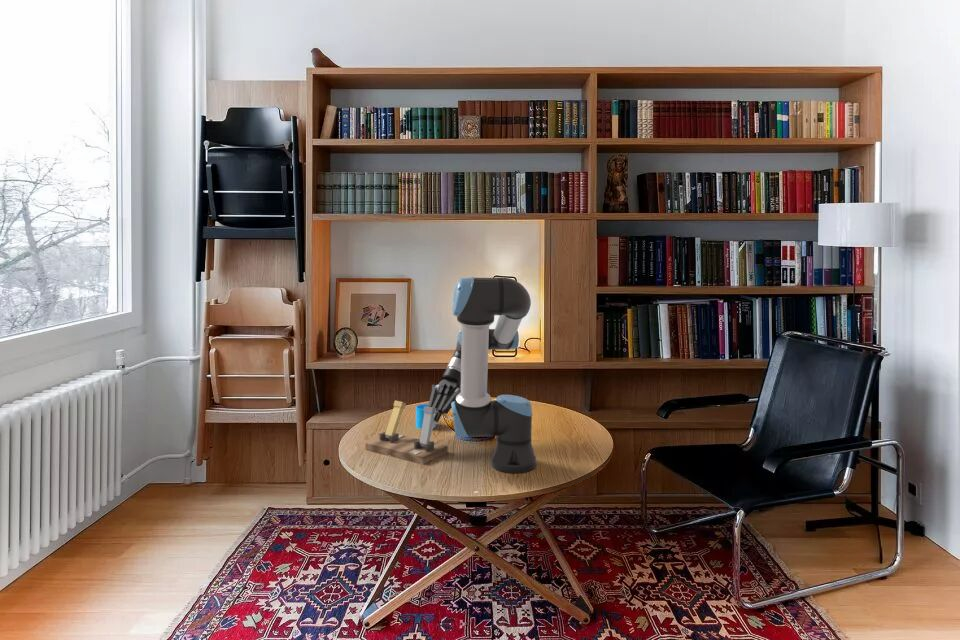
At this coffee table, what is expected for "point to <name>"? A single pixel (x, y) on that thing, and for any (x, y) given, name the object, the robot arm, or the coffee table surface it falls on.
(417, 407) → the mug
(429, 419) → the grey lever
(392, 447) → the console
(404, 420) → the coffee table surface
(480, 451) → the coffee table surface
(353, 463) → the coffee table surface
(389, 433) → the ochre lever
